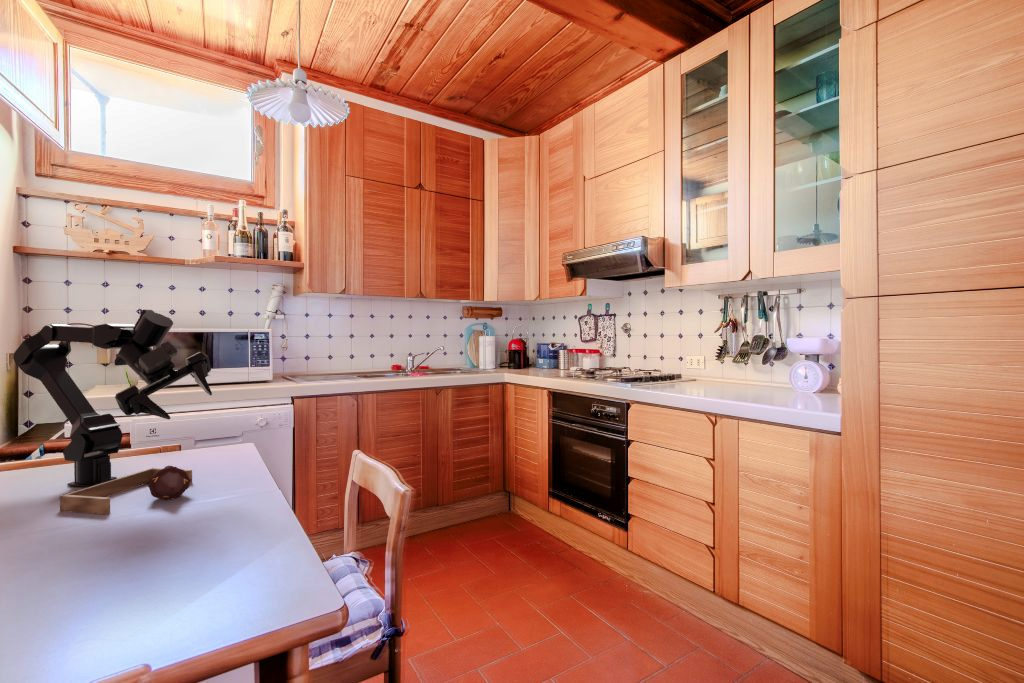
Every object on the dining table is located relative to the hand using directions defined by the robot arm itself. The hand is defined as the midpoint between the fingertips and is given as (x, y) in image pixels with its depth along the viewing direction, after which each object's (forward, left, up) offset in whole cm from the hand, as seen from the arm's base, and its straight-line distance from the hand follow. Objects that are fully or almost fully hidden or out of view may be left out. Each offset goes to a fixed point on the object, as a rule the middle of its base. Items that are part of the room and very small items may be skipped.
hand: (190, 405), depth 106 cm
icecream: (-2, -4, -19) cm, 20 cm away
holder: (-11, -4, -19) cm, 22 cm away
